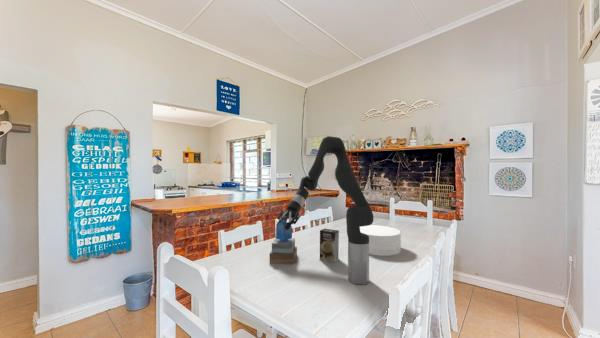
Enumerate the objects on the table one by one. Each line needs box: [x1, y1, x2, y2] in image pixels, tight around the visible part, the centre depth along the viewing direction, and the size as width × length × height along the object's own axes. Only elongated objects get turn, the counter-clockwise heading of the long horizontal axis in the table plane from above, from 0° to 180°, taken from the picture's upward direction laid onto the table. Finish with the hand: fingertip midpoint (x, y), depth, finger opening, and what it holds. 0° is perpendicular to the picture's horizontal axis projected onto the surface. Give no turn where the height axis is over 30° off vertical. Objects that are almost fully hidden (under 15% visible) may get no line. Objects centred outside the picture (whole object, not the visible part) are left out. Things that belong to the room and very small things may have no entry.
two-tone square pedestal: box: [269, 237, 298, 265], centre depth 139 cm, size 13×13×10 cm
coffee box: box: [319, 228, 340, 263], centre depth 138 cm, size 9×6×16 cm
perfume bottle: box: [275, 216, 293, 241], centre depth 139 cm, size 6×6×12 cm
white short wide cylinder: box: [360, 224, 402, 257], centre depth 159 cm, size 28×28×12 cm
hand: (281, 227), depth 138 cm, fingers closed on perfume bottle, 6 cm apart
